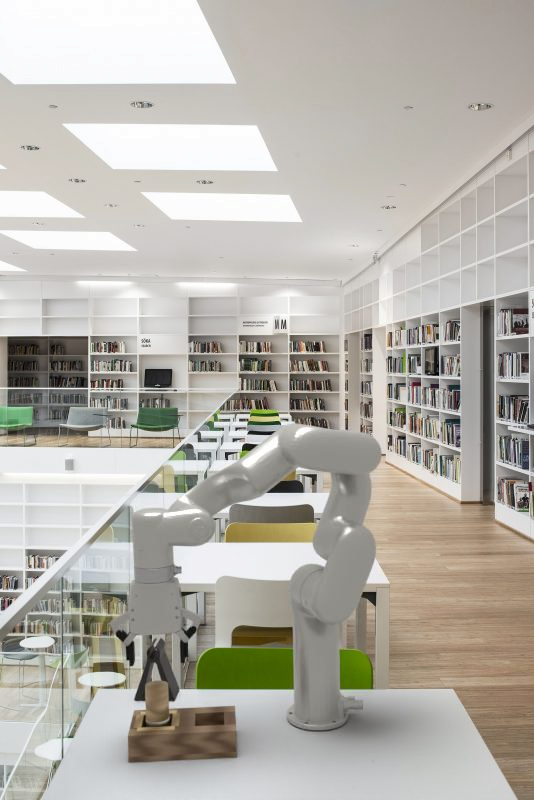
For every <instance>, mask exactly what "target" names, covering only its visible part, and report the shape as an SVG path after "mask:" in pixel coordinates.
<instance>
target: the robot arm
mask: <svg viewBox="0 0 534 800" xmlns="http://www.w3.org/2000/svg"><path fill="white" fill-rule="evenodd" d="M382 455H383V454H382V448H381V445H380V443H379V442H378V440H377V438H375V437H374V436H372V435H371V434H368V433H366V432H361V431H355V430H349V429H333V428H332V429H331V428H325V427H320V426H316V425H310V424H303V423H301V424H300V423H288V424H286V425H284V426H282V427H279V429H277V430H276V431H274V432H273V433H271V435H269V436H268V437H267V438H265V439H264V440H263V441H262V442H261V443H260V442H259V444H257V445H256V446H255V447H254V448H252V449H251V450H250V451H248V452H247V453H246V454H245V455H243V456H242V457H241V458H239V459H238V460H237V461H234V462H233V463H232V464H230V465H228V466H226V467H224V468H222V469H221V470H219V471H217V472H215V473H214V474H212V475H209V476H208V477H207V478H204V479H203V480H201V481H200V482H198V483H197V484H196V485H194V486H193V487H191V488H190V489H189V490H188V491H186V492H185V493H184V494H182V495H181V496H180V497H179V498H177V499H176V500H175V501H174V502H173V503H172V504H171V505H170V506H169V508H168V509H167V508H164V507H148V508H142V509H139V510H136V511H135V512H134V513H133V515H132V517H131V524H132V527H131V528H132V529H131V530H132V544H133V545H132V548H133V549H132V552H133V574H134V578H133V579H132V580H131V582H130V587H129V597H128V598H129V599H128V610H127V611H125V612H124V613H122V614H121V615H119V616H116V617H115V618H113V619H112V620H111V621H110V623H109V625H110V628H111V629H112V631H113V633H114V634H115V636H116V638H118V639H119V640H120V642H122V643H123V645H124V646H125V658H126V659H125V660H126V661H128V662H129V667H133V666H134V665H135V662H136V652H135V651H136V647H135V645H136V644H135V641H134V639H135V638H136V637H137V636H153V635H155V636H156V635H171V634H172V635H173V634H175V635H176V636H177V637H178V638H179V639H180V641H179V651H180V652H179V653H180V658H179V659H180V663H181V664H185V662H186V661H185V660H186V658H189V640H191V639H192V637H193V636H194V635H195V634H196V633H197V630H198V629H199V627H200V625H201V622H202V619H203V618H202V616H201V615H200V614H198V613H195V612H193V611H191V610H189V609H186V608H184V607H183V597H182V588H181V585H180V579H179V578H178V577H176V576H177V575H178V574H179V575H181V574H183V573H182V569H183V568H182V566H178V565H176V564H175V562H174V561H175V559H174V558H175V557H174V547H200V546H203V545H205V544H207V543H209V541H211V539H213V537H214V535H215V532H216V528H217V527H216V522H215V518H214V516H215V515H217V514H218V513H220V512H222V511H223V510H225V509H226V508H228V507H230V506H233V505H235V504H239V503H242V502H249V501H253V500H255V499H256V500H257V499H258V498H260V497H261V498H262V496H263V495H265V494H267V492H269V491H270V490H272V489H273V488H274V487H275V486H276V485H278V484H279V483H281V482H282V481H283V480H284V479H285V478H286V477H288V476H289V475H290V474H292V473H293V472H294V471H295V470H297V469H298V468H299V469H300V468H301V469H303V470H304V469H305V470H309V471H310V470H311V471H315V472H316V471H317V472H324V473H329V474H330V479H331V483H330V484H331V486H330V491H329V494H328V497H327V500H326V503H325V505H324V508H323V510H322V513H321V516H320V518H319V520H318V523H317V526H316V529H315V531H314V533H313V538H312V547H313V550H314V552H315V553H316V555H318V556H319V557H320V558H321V559H323V560H325V561H326V563H325V566H323V565H321V564H318V563H308V564H307V563H306V564H303V565H301V566H300V567H298V568H297V569H296V570H295V571H294V572H293V573H292V575H291V577H290V580H289V585H288V599H289V600H288V601H289V605H290V612H291V620H292V640H293V641H292V646H293V647H292V648H293V649H292V651H293V652H292V653H293V654H292V655H293V656H292V657H293V660H292V662H293V704H291V706H289V707H288V709H287V710H286V719H287V721H288V722H289V723H290V724H291V725H293V726H295V727H297V728H300V729H303V730H309V731H328V730H333V729H336V728H337V729H338V728H339V727H342V726H343V725H344V724H346V722H347V721H348V719H349V710H354V711H356V710H357V711H359V710H360V711H361V710H364V701H363V699H356V697H355V696H354V695H351V696H349V695H348V696H344V695H342V693H341V681H340V679H341V678H340V677H341V676H340V675H341V671H340V670H341V669H340V667H341V665H340V627H339V625H341V624H344V623H345V622H347V621H348V620H349V618H351V616H352V615H353V614H354V612H355V611H356V609H357V607H358V605H359V603H360V600H361V597H362V595H363V592H364V590H365V588H366V585H367V582H368V579H369V577H370V574H371V572H372V569H373V567H374V563H375V560H376V555H377V545H376V544H377V543H376V539H375V536H374V535H373V533H372V532H371V531H370V529H369V528H368V527H366V526H365V525H363V524H364V521H365V518H366V516H367V512H368V508H369V506H370V502H371V498H372V480H371V479H372V478H371V475H370V473H372V472H374V471H375V470H376V469H377V468H378V467H379V465H380V463H381V461H382ZM184 618H185V619H187V620H189V621H191V622H192V623H191V625H190V627H189V628H187V629H186V628H185V626H183V623H184ZM126 621H128V630H129V631H128V633H127V632H126V631H125V630H123V628H122V627H121V625H122V624H123V623H125V622H126Z"/></svg>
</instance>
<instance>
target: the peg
mask: <svg viewBox="0 0 534 800" xmlns="http://www.w3.org/2000/svg"><path fill="white" fill-rule="evenodd" d="M144 702H145V710H146V727H164V726H169V709H170V701H169V694H168V683H167V682H166V681H161V680H150V682H149V683H147V684H146V685H145V701H144Z"/></svg>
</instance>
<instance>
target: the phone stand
mask: <svg viewBox="0 0 534 800" xmlns="http://www.w3.org/2000/svg"><path fill="white" fill-rule="evenodd" d="M157 639H158V638H157V637H156V638H153V640H152V641H151V643H150V645H149V646H148V648H147V650H146V663H145V666H144V669H143V672H142V674H141V678H140V681H139V684H138V687H137V689H136V693H135V695H134V698H133V700H134V701H135V702H146V701H145V685H146V684H147V683H149V682H151V677H152V672H153V668H154V664H155V665H156V668H157V671H158V674H159V677H160V681H166V682H167V683H168V694H169V702H175V700H176V698H177V696H178V693H179V691H180V687H179V684H178V681H177V678H176V676H175V673H174V671H173V668H172V666H171V663H170V661H169V660H170V659H169V657H168V655H167V653H166V642H165V639H163V638H162V637H160V638H159V640H158V642H157V643H156V641H157ZM155 643H156V645H155ZM154 645H155V646H154Z"/></svg>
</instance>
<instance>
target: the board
mask: <svg viewBox="0 0 534 800" xmlns="http://www.w3.org/2000/svg"><path fill="white" fill-rule="evenodd" d="M236 721H237V718H236V706H235V705H223V706H221V705H220V706H219V705H217V706H203V707H202V706H201V707H199V706H198V707H179V708H178V707H175V708H169V726H164V727H146V709H134V710H133V714H132V718H131V721H130V726H129V730H128V734H127V753H128V754H127V756H128V763H143V762H164V761H165V762H166V761H182V760H183V761H184V760H185V761H186V760H188V761H189V760H203V759H206V760H207V759H209V760H210V759H225V758H237V757H238V755H237V753H238V751H237V750H238V749H237V745H238V744H237V743H238V742H237V722H236Z"/></svg>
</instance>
